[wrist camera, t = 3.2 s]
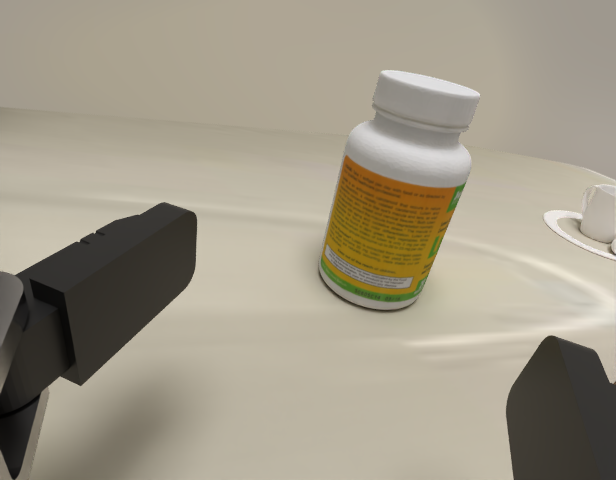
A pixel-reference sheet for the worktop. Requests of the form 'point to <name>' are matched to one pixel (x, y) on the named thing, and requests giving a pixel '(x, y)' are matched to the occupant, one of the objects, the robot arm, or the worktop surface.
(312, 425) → the worktop surface
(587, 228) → the teacup and saucer
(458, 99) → the supplement bottle
